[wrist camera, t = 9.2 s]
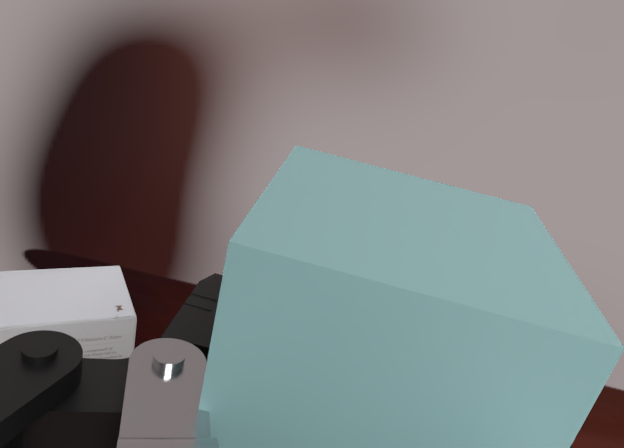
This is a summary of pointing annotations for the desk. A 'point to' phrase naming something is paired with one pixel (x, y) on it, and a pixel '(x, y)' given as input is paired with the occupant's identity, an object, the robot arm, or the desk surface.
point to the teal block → (398, 319)
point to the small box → (71, 307)
